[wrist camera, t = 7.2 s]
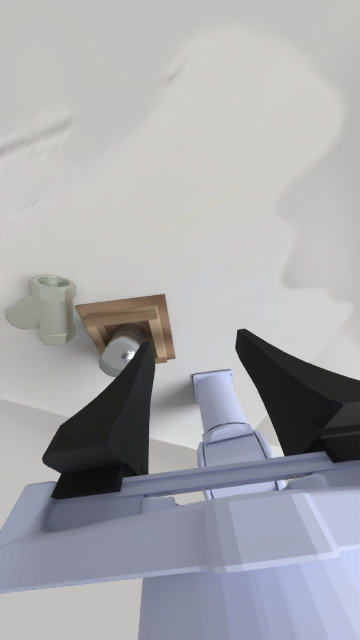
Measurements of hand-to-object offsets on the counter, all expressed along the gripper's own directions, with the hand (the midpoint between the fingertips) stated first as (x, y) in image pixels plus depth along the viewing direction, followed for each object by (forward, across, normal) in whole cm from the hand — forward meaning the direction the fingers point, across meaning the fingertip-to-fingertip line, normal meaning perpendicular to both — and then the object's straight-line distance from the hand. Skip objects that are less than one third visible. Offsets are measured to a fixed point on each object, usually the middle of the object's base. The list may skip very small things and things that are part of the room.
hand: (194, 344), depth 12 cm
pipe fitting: (+10, +18, -2) cm, 20 cm away
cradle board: (+10, +8, +5) cm, 14 cm away
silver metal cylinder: (+9, +9, +5) cm, 13 cm away
